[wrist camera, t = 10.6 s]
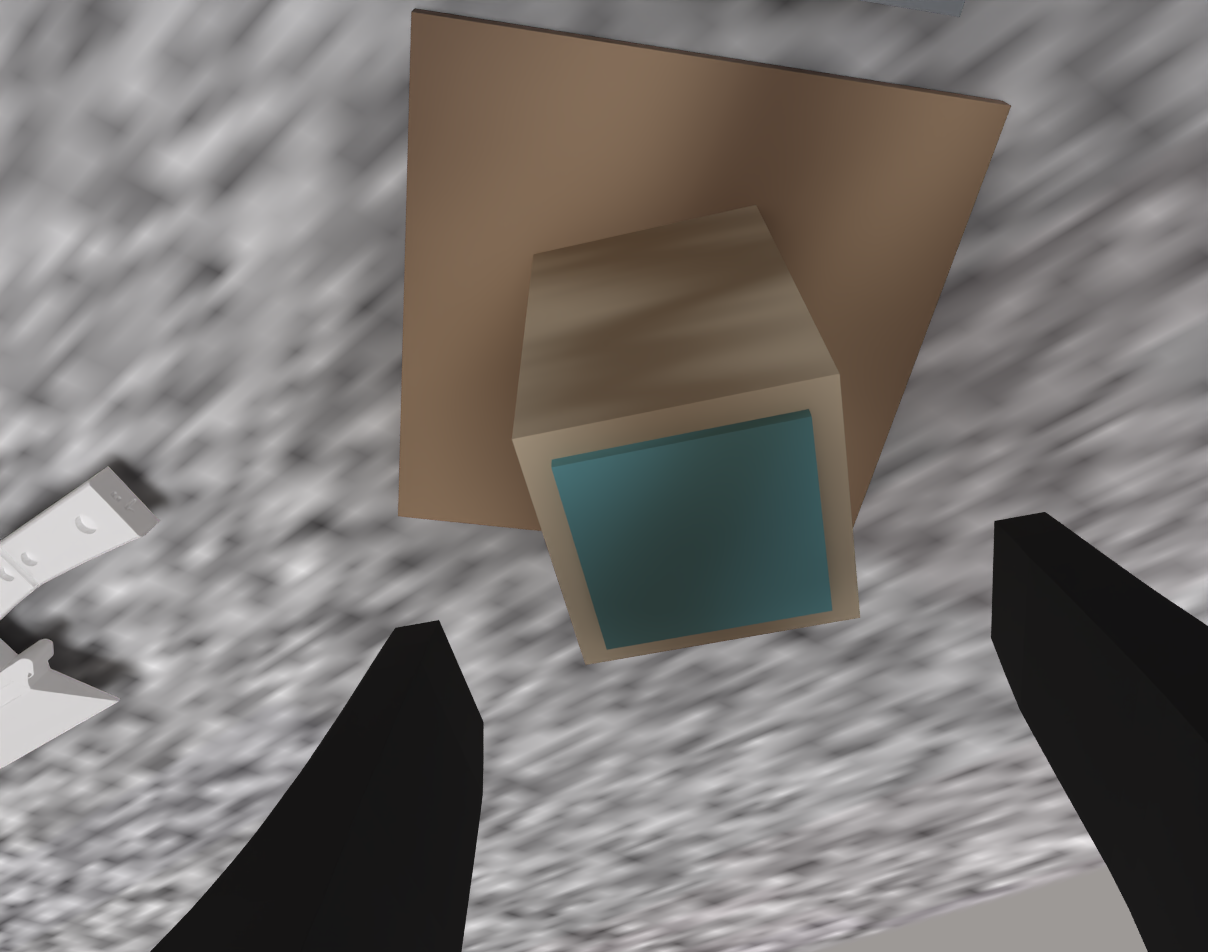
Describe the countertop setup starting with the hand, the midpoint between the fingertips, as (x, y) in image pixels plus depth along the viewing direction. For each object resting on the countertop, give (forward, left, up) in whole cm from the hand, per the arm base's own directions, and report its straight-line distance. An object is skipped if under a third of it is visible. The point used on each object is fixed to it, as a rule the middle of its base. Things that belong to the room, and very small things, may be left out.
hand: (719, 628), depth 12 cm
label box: (0, 0, -9) cm, 9 cm away
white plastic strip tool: (+15, +13, -10) cm, 22 cm away
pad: (0, 0, -9) cm, 9 cm away
